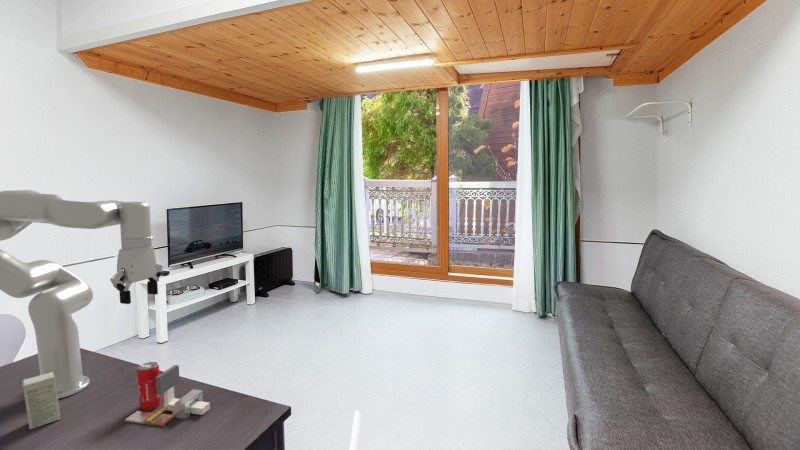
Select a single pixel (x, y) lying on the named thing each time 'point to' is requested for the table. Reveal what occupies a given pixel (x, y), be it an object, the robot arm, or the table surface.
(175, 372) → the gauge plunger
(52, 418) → the skincare box
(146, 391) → the beverage can
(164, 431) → the table surface
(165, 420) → the bench
